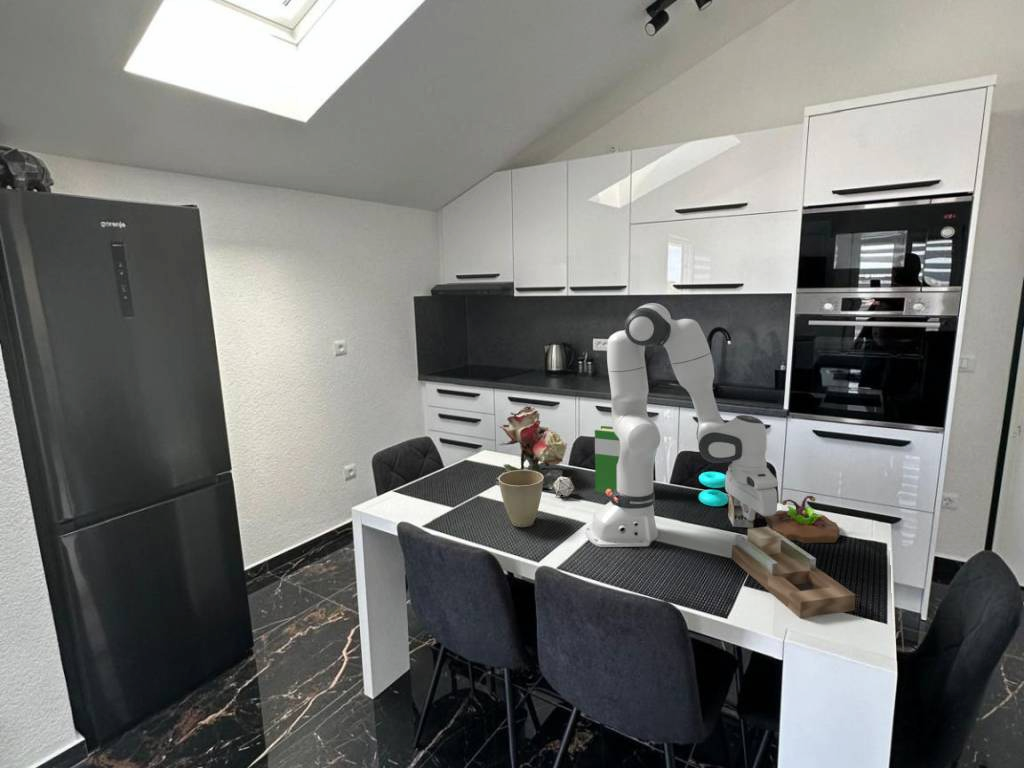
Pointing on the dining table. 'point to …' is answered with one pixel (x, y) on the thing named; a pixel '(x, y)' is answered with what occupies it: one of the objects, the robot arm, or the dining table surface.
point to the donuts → (713, 495)
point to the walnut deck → (798, 585)
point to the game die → (563, 486)
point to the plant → (803, 524)
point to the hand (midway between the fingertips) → (748, 518)
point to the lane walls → (769, 562)
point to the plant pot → (521, 495)
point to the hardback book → (606, 459)
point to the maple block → (765, 540)
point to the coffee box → (737, 514)
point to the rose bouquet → (534, 444)
